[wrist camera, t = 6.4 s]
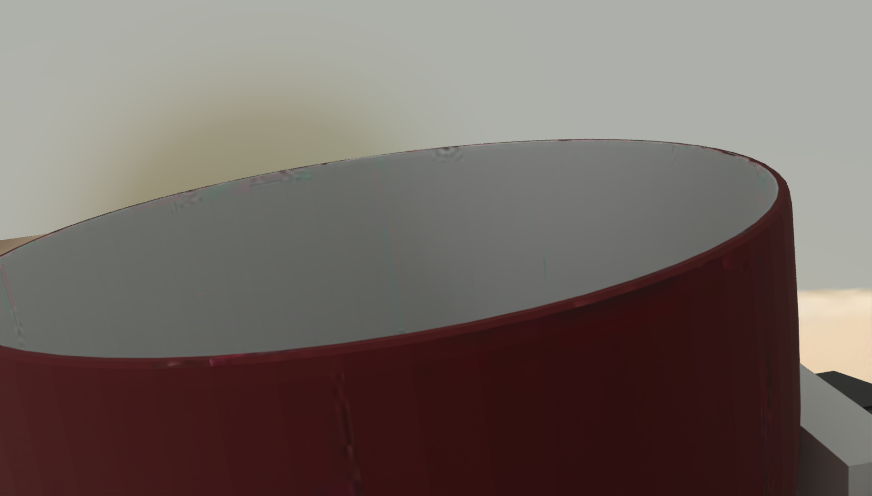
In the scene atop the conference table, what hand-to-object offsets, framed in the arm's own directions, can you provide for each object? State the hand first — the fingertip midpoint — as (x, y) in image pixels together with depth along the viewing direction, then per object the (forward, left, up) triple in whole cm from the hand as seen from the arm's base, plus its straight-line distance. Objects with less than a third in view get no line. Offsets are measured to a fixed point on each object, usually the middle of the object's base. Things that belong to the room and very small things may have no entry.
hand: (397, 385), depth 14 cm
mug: (0, -6, -6) cm, 8 cm away
